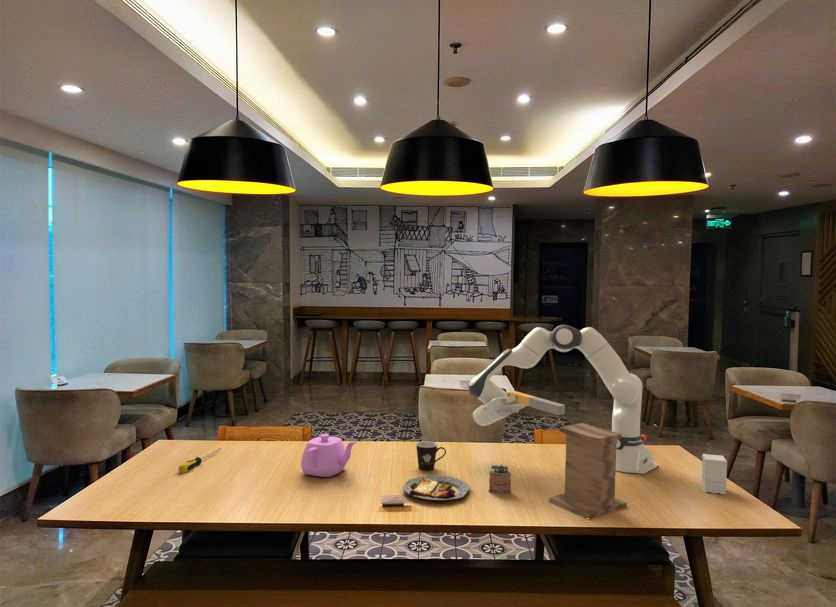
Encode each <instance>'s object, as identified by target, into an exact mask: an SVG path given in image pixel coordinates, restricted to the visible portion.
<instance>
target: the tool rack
mask: <svg viewBox="0 0 836 607" xmlns="http://www.w3.org/2000/svg"><path fill="white" fill-rule="evenodd" d="M558 431H559V432H561V433H563V434H566V436H565V438H566V439H565V466H564V467H565V469H564V471H565V473H564V493H561V494H558V495H554V496H550V497H549V501H550V502H549V503H551V502H552V504H553V503H554V505H556V506H557V507H560V508H562V507H563V508H562V509H564V508H565V510H566V509H567V510H566V511H569V512H571V513H573V512H574V513H573V514H575V513H576V515H577V514H578V516H580V515H581V516H580V517H582V516H583V517H582V518H584V517H585V518H584V519H586V518H590V519H593V518H596V517H595V516H597V517H599V516H598V515H600V516H602V515H601V514H603V515H605V513H606V514H608V512H609V513H612V512H614V510H615V511H618V510H620V509H619V508H621V509H624V508H627V506H628V503H627V501H624V500H621V499H619V498H617V497H616V474H617V472H616V471H617V470H616V440H617V439H621V438H622V434H620V433H616V432H613V431H612V430H609V429H605V428H602V427H599V426H595V425H591V424H587V423H584V422H579V423H575V424H569V425H564V426H560V427H558ZM623 507H624V508H623ZM617 509H618V510H617ZM611 511H612V512H611ZM592 517H593V518H592Z"/></svg>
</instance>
